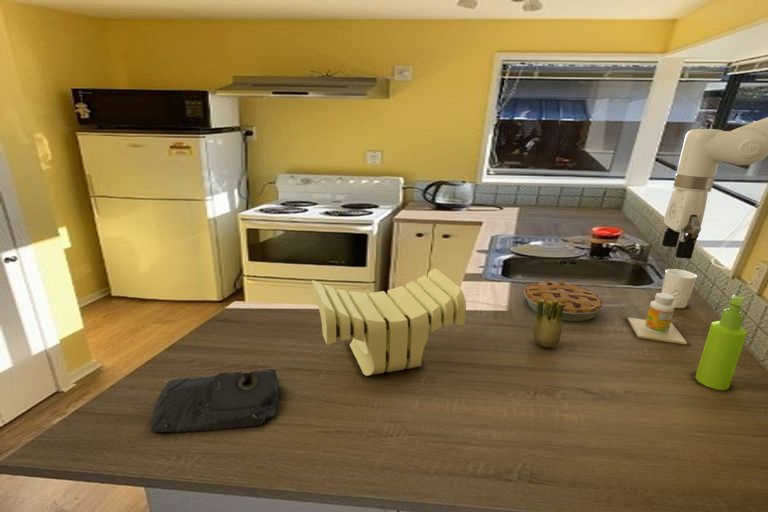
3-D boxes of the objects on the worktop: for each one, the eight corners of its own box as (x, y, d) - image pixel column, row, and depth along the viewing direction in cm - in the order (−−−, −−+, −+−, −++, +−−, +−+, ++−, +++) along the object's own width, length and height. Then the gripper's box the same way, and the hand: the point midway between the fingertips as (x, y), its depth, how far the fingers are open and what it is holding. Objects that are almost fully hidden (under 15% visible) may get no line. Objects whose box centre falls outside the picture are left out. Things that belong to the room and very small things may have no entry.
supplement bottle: (641, 323, 116) (649, 290, 113) (663, 326, 115) (672, 293, 112) (648, 332, 111) (656, 298, 108) (671, 335, 110) (680, 301, 107)
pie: (534, 322, 116) (536, 306, 114) (513, 291, 137) (515, 276, 135) (615, 325, 115) (618, 309, 114) (582, 293, 136) (585, 279, 135)
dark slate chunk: (170, 383, 86) (167, 363, 85) (281, 375, 90) (279, 355, 88) (143, 437, 72) (138, 414, 71) (275, 424, 76) (274, 402, 74)
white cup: (663, 296, 136) (670, 267, 132) (692, 304, 130) (700, 274, 127) (654, 302, 131) (661, 272, 128) (683, 311, 125) (692, 280, 122)
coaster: (671, 325, 117) (672, 323, 116) (686, 344, 107) (687, 342, 106) (627, 319, 119) (627, 317, 119) (638, 337, 109) (638, 335, 109)
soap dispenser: (691, 383, 91) (717, 297, 85) (698, 370, 96) (723, 288, 89) (725, 395, 87) (755, 307, 81) (731, 382, 92) (759, 297, 85)
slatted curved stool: (327, 390, 86) (326, 310, 80) (314, 350, 100) (312, 279, 94) (460, 366, 95) (467, 293, 89) (430, 332, 109) (435, 268, 103)
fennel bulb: (529, 343, 105) (536, 299, 101) (539, 337, 108) (546, 294, 105) (551, 353, 101) (559, 307, 97) (561, 346, 104) (569, 301, 100)
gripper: (663, 177, 109) (648, 241, 115) (689, 187, 94) (670, 260, 99) (696, 179, 107) (680, 244, 113) (728, 190, 92) (707, 264, 97)
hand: (675, 251), depth 106 cm, fingers open, 9 cm apart
